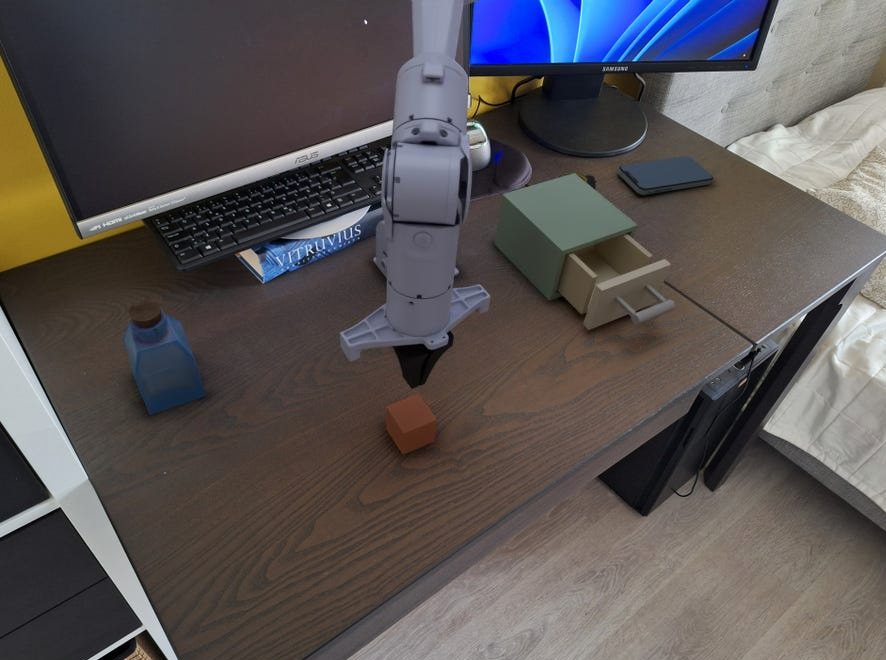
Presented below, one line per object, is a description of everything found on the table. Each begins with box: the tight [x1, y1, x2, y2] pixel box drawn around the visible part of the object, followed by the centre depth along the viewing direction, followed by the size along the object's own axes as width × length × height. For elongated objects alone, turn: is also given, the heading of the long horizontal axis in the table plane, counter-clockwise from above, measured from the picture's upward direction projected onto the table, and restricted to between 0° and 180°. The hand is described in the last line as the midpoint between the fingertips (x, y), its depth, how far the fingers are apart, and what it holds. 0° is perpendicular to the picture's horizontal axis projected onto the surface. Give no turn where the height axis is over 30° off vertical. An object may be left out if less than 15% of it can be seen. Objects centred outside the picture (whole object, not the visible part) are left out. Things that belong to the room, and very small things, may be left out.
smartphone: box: [617, 155, 714, 196], centre depth 112 cm, size 8×2×15 cm
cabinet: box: [494, 172, 638, 302], centre depth 93 cm, size 14×13×9 cm
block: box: [385, 393, 438, 456], centre depth 72 cm, size 4×4×4 cm
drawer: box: [557, 233, 676, 331], centre depth 87 cm, size 17×11×7 cm, turn 30°
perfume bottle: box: [121, 298, 207, 416], centre depth 72 cm, size 6×6×12 cm
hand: (413, 379), depth 67 cm, fingers closed
